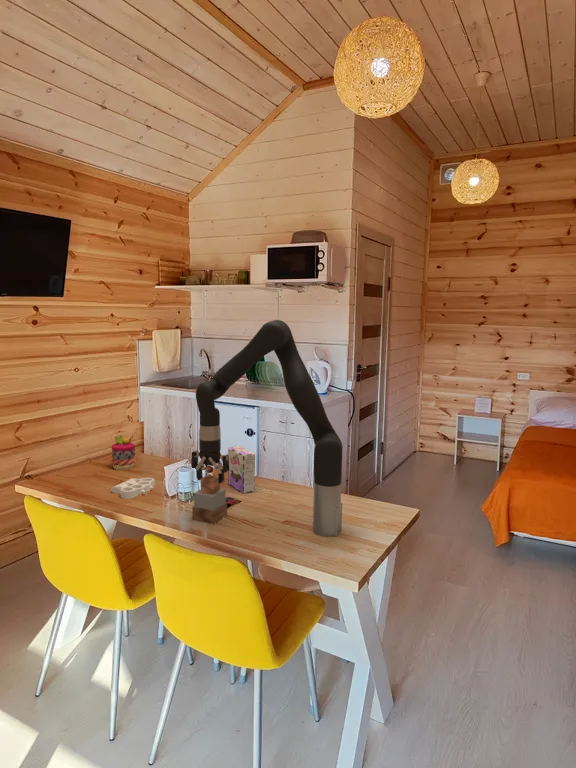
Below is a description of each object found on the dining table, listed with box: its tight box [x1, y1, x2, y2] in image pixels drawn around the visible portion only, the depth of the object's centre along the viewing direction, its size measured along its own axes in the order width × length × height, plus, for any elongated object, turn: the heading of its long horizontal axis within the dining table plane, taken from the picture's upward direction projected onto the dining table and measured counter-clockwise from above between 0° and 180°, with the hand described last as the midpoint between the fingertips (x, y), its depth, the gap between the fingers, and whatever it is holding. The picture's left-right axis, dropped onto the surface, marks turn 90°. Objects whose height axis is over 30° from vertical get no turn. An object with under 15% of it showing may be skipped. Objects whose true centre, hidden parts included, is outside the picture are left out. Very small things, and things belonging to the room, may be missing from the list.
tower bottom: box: [191, 501, 228, 525], centre depth 184 cm, size 9×9×5 cm
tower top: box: [193, 488, 226, 510], centre depth 184 cm, size 8×8×5 cm
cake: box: [110, 434, 137, 471], centre depth 240 cm, size 10×11×15 cm
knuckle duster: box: [110, 477, 156, 499], centre depth 210 cm, size 3×18×15 cm
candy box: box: [227, 445, 256, 494], centre depth 215 cm, size 14×6×16 cm, turn 33°
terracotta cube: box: [200, 474, 221, 494], centre depth 183 cm, size 5×5×5 cm
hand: (210, 481), depth 183 cm, fingers open, 8 cm apart
